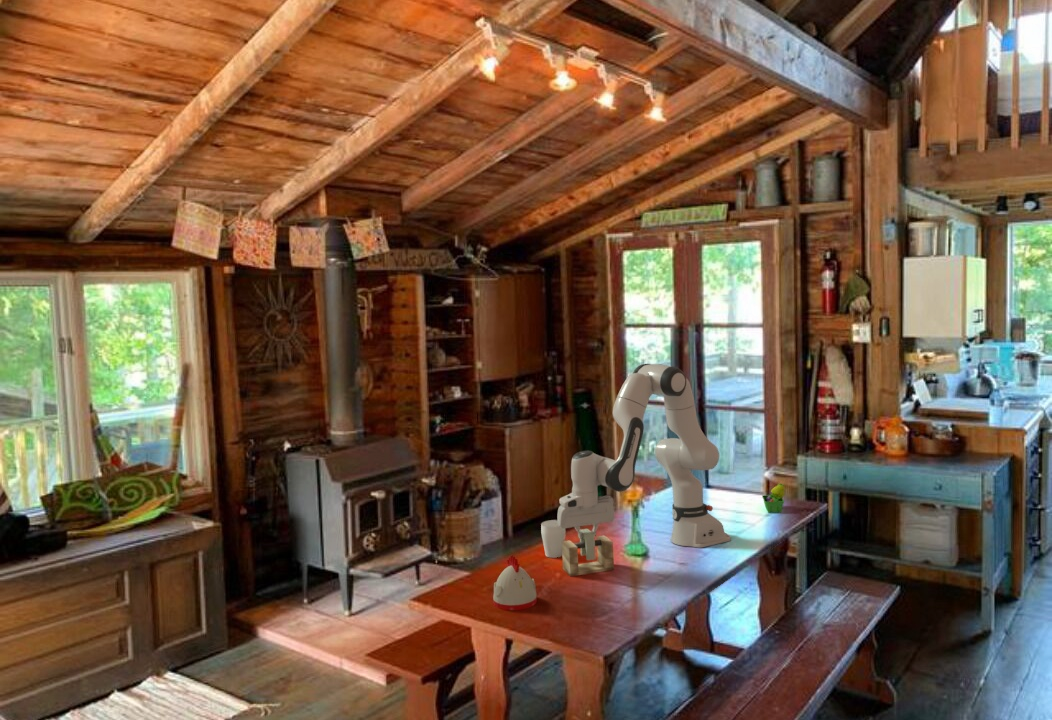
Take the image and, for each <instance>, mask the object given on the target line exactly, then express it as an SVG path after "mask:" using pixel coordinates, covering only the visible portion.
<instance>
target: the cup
mask: <svg viewBox="0 0 1052 720" xmlns="http://www.w3.org/2000/svg"><path fill="white" fill-rule="evenodd" d="M540 525H541V526H540V527H541V528H540V529H541V530H540V533H541V538H542V539H541V540H542V544H543V548H544V554H545V557H547V558H551V559H556V558H557V557H558V558H561V557H562V541H566V528H564V529H562V528H561V527H560V526H559V525H558V523H557V519H551V520H545V521H542V522H541V523H540Z"/></svg>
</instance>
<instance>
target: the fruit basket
mask: <svg viewBox="0 0 1052 720" xmlns="http://www.w3.org/2000/svg"><path fill="white" fill-rule="evenodd" d="M785 491H786V487H785V485H784V484H783V483H777V485H776V486H774V487H773V488H772V489H771V490H770V492H771V493H770V494H764V495H762V499H763V503H764V507H765V508H766V511H767V513H768V514H772V513H773V514H775V513H782V510H783V507H784V506H783V505H784V502H785V500H784V499H783V498H784V497H785Z"/></svg>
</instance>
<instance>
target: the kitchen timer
mask: <svg viewBox="0 0 1052 720" xmlns="http://www.w3.org/2000/svg"><path fill="white" fill-rule="evenodd" d="M506 562H507V567H506V568H504V569H503V571H502V572H501V573H500V575H499V576H498V577H497V580H496V582H494V583H493V596H492V598H493V605H494V607H495V608H497V609H500V610H504V611H521V610H525V609H529V608H531V607H533V606H534V605H536V604H537V602H538V599H537V596H538V595H537V590H536V583H535V579H534V578H531V576H530V575H529V573H528V572H527V571H526V570H525V569H524V568H522V567H521V566H520V563H519V562H518V558H516V557H515V556H514V555H513V554H512V555H509V557H508V559H507V560H506Z"/></svg>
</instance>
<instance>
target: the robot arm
mask: <svg viewBox="0 0 1052 720" xmlns="http://www.w3.org/2000/svg"><path fill="white" fill-rule="evenodd" d="M652 395H656V396H663V402H664V403H663V404H664V411H665V416H666V424H667V427H668V429H669V430H670V431H671V432H673V433H674V434H675V435H677V437H678V438H676V437H670V438H663V439H662V438H661V439H660V440H659V441H658V443H657V444H656V446H655V448H654V455H655V459H656V461H657V462H658V463H659V464H660V465H661V466H662V467H663V468H664V470H665V471H666V473H667V475H668V477H669V480H670V482H671V488H672V498H673V504H672V519H673V525H672V532H671V536H670V537H671V538H670V542H671V543H673V544H675V545H677V546H683V547H694V548H698V549H699V548H700V549H701V548H705V547H710V546H713V545H718V544H723V543H726V542H730V541H731V540H732V539H731V536H730V535H729V534H728V533H727V532H725V528H724V525H723V523H722V522H721V521H720V520H719V519H718V518H716V517H714V516H713V515H712V514H710V513H709V512H712V511H713V510H714V508H713V506H712V505H710V504H705V502H704V493H703V492H704V490H703V484H702V482H701V481H700V480H699V479H698V478H696V476H695V475H694V473H692V470H695V471H709V470H713V469H714V468H715V467H716V466H717V465H718V463H719V461H720V452H719V451H720V450H719V449H718V447H717V446H716V444H714V443H713V442H711V440H710V439H708V437H706V435H705V433H704V432H703V431H702V429H701V426H700V423H699V421H698V416H697V411H696V402H695V398H694V394H693V390H692V386H691V383H690V380H689V379H688V377H686V375H685V372H684V371H683V370H682V369H680V368H678V367H676V366H670V365H666V364H656V363H655V364H654V363H653V364H651V363H642V364H639V365H638V366H637V367H635V369H634V371H633V372H632V373H630V374H628V376H627V378H626V379H625V381H624V382H623V383H622V385H621V388H620V390H619V392H618V394H617V396H616V398H615V401H614V404H613V407H612V416H613V417H612V418H613V419H614V421H615V422H616V423H617V425H618V426H619V427H620V428H621V429H622V432H623V438H622V443H621V447H620V451H619V455H618V458H617V459H612V458H609V457H606V456H602V455H599V454H596V453H594V452H593V451H592V450H581V451H578V452H576V453H575V454H573V456H572V458H571V463H570V475H571V481H572V488H571V492H570V493H569V494H567V495H564V496H561V497H560V498H559V504H560V505H559V506H558V509H557V516H556V517H557V519H556V520H557V523H558V525H559V526H560V527H561V528H562V529H564V528H565V529H571V528H574V529H575V530H576V532H577V537H578V539H579V540H580V539H581V538H584V533H582V532H580V530H581V527H585V526H591V525H592V526H593V527H592V530H590V531H591V532H593V533H594V535H595V537H597V536H596V535H597V530H598V529H599V524H605V523H612V522H614V520H615V518H616V517H615V516H616V515H615V510H614V498H613V497H612V496H610V495H606V494H605V495H600V496H599V495H598V494H599V493H598V486H603V487H607V488H609V489H610V490H613V491H615V492H619V493H621V492H625V491H626V490H628V489H629V488H630V487H631V486H632V484H633V483H634V481H635V475H636V474H635V471H636V464H637V463H636V462H637V459H638V456H639V451H640V447H641V443H642V440H643V435H644V426H645V425H644V415H645V413H646V409H647V407H648V403H649V402H650V397H651V396H652ZM708 511H709V512H708Z"/></svg>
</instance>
